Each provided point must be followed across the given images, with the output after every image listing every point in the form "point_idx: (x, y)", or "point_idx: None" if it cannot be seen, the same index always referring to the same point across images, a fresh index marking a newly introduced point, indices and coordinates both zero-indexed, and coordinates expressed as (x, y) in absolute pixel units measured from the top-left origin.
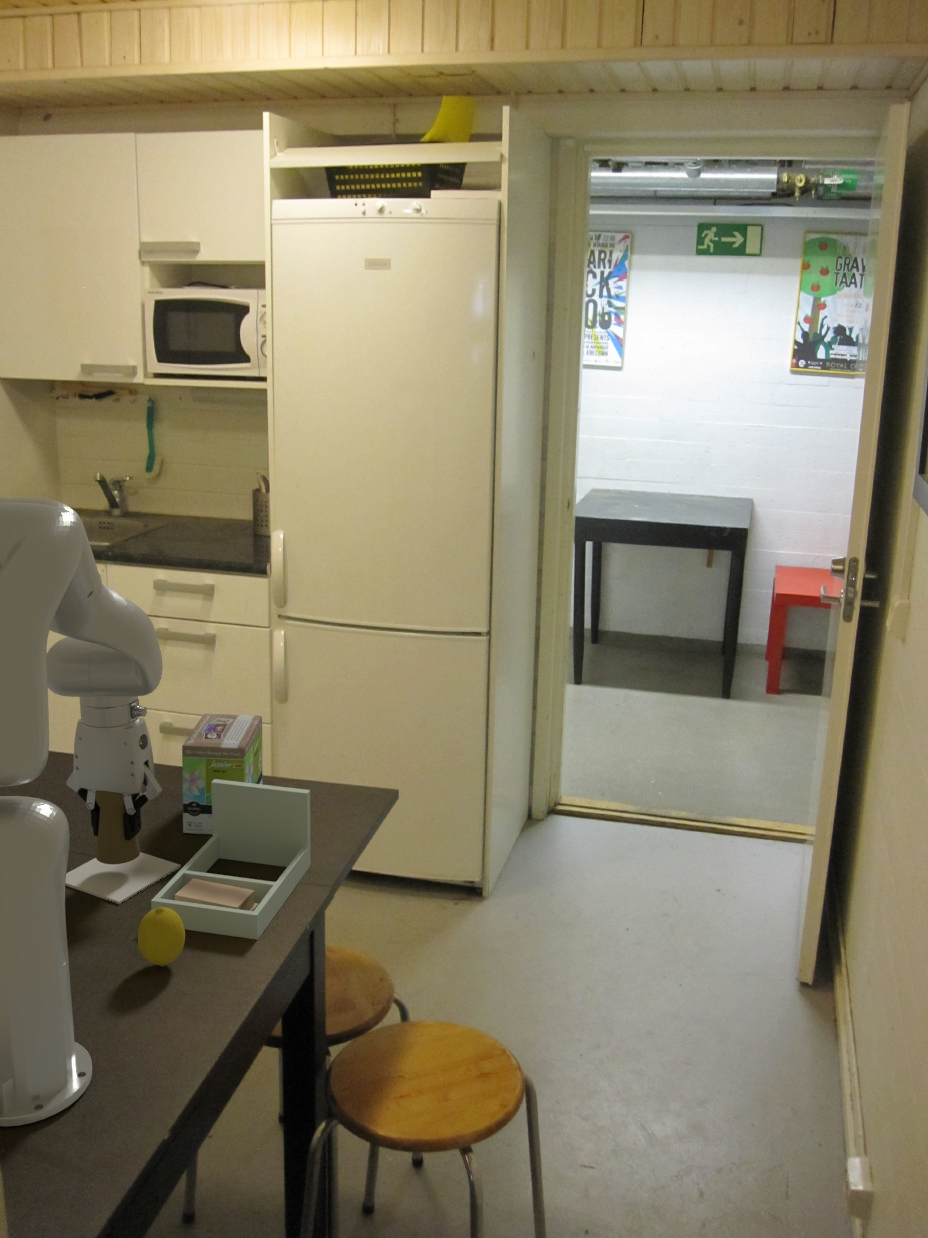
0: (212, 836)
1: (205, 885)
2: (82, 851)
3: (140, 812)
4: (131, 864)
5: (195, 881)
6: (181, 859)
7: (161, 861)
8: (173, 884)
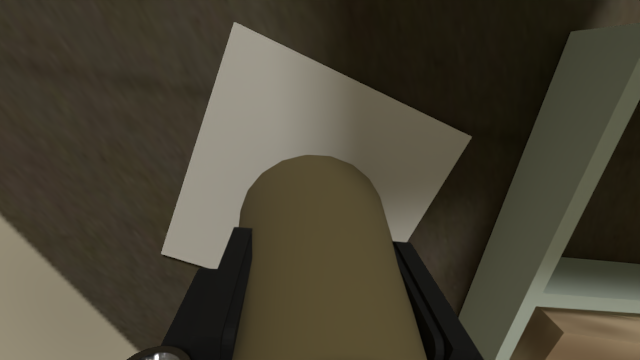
0: (637, 62)
1: (593, 353)
2: (125, 65)
3: (480, 355)
4: (328, 151)
5: (570, 343)
6: (462, 82)
7: (412, 122)
8: (512, 350)
